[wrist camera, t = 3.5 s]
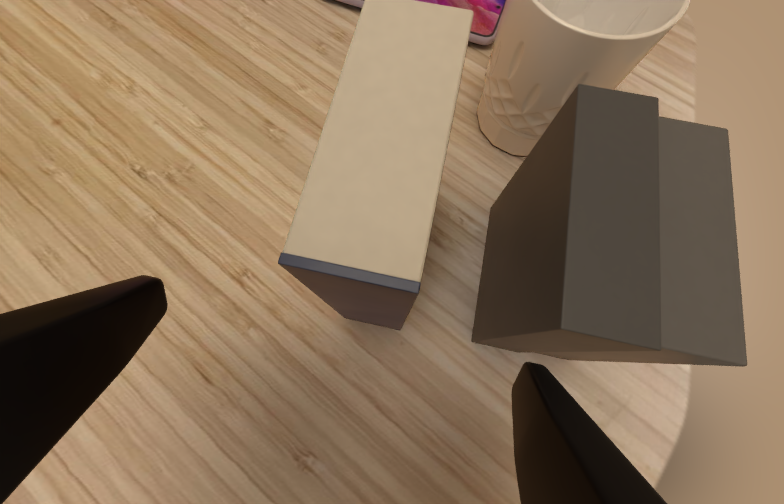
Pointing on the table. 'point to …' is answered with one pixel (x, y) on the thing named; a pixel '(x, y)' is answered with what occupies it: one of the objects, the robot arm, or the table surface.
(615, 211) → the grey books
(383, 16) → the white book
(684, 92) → the table surface
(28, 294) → the table surface
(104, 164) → the table surface
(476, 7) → the smartphone
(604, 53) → the white cup
